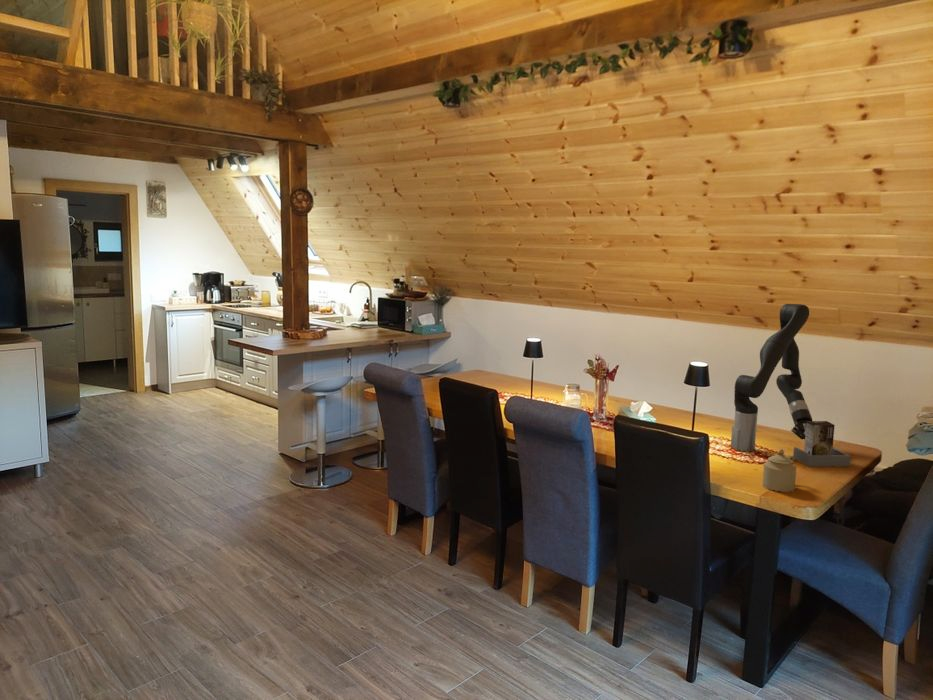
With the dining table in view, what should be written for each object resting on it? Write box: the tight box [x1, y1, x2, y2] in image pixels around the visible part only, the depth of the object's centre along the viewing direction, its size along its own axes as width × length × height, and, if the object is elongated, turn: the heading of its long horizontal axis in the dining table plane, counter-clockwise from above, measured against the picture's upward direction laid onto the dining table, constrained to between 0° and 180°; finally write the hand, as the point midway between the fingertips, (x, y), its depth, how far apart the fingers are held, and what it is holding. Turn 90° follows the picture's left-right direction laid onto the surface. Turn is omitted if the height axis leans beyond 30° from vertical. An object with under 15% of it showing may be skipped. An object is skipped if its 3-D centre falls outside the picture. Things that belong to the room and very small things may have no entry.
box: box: [792, 446, 852, 467], centre depth 280 cm, size 17×12×4 cm
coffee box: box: [803, 420, 836, 455], centre depth 283 cm, size 9×6×16 cm
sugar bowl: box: [762, 448, 797, 493], centre depth 250 cm, size 15×11×15 cm
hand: (812, 447), depth 287 cm, fingers closed
